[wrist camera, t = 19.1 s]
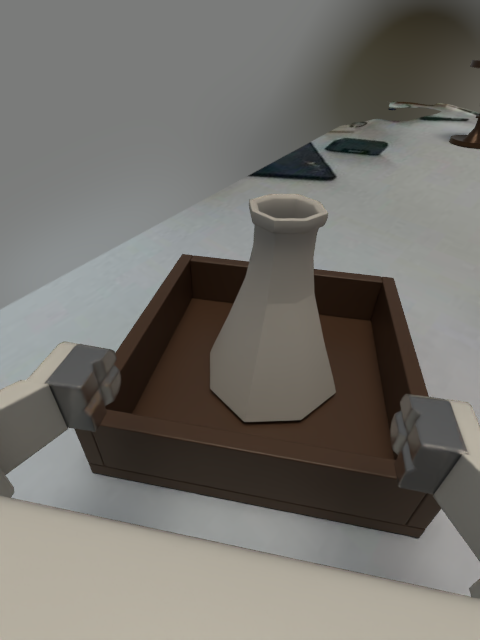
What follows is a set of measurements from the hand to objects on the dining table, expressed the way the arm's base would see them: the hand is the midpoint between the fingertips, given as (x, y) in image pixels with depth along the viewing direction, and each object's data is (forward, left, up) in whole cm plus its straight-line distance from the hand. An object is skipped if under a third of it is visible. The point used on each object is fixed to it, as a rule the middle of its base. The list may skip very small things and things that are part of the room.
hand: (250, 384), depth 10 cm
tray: (-2, +8, -8) cm, 12 cm away
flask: (-2, +8, -8) cm, 11 cm away
